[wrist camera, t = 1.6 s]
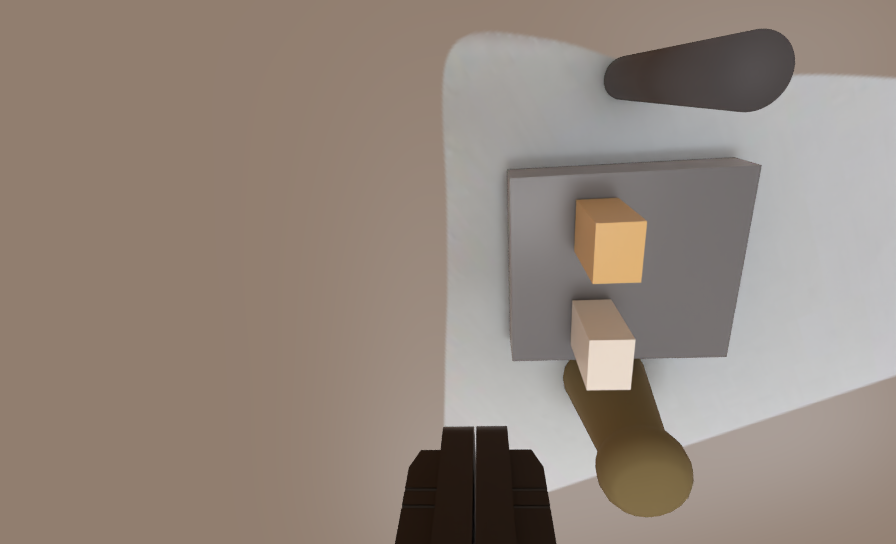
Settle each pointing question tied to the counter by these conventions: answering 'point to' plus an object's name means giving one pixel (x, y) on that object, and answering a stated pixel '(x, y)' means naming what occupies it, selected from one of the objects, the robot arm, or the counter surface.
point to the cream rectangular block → (602, 345)
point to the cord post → (708, 72)
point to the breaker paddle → (609, 240)
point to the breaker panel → (665, 255)
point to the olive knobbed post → (632, 445)
